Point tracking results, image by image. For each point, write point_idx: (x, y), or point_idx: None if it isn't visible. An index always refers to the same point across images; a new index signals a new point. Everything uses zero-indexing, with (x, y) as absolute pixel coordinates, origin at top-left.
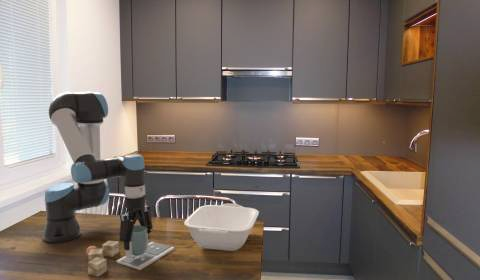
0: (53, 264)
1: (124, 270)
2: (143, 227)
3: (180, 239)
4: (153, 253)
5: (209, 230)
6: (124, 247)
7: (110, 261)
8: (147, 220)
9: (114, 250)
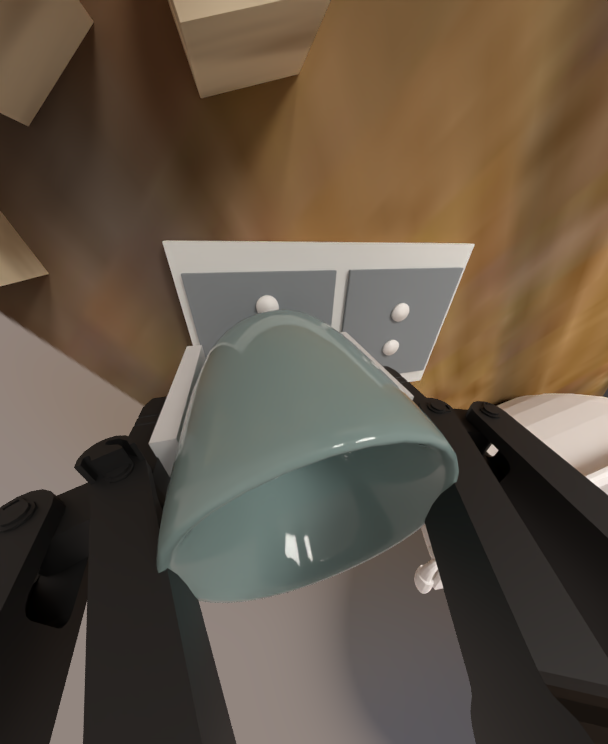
0: None
1: (155, 360)
2: (416, 497)
3: (500, 333)
4: None
5: (424, 589)
6: (139, 418)
7: (137, 166)
8: (546, 541)
9: (231, 64)
